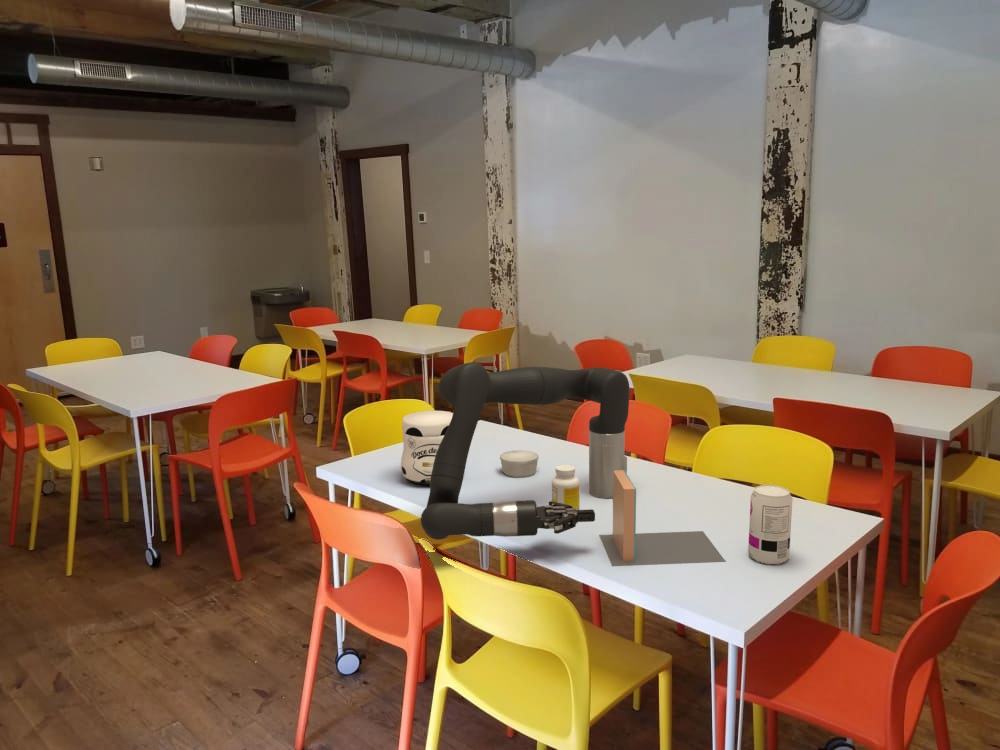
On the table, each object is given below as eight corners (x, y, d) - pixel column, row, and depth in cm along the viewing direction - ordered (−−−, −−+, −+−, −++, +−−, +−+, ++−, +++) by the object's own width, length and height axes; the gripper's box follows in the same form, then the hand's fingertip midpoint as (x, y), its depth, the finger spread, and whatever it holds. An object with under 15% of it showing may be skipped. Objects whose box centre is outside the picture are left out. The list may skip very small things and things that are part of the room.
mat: (612, 567, 159) (612, 566, 159) (599, 536, 175) (599, 534, 175) (725, 563, 160) (726, 561, 160) (702, 532, 176) (702, 531, 176)
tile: (623, 561, 161) (624, 489, 158) (612, 538, 173) (613, 470, 170) (635, 560, 161) (636, 488, 158) (623, 537, 173) (624, 470, 170)
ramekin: (522, 464, 228) (522, 447, 227) (547, 473, 219) (546, 455, 218) (492, 472, 221) (491, 454, 220) (516, 481, 213) (516, 463, 212)
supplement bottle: (583, 515, 187) (584, 465, 185) (572, 525, 182) (572, 473, 179) (559, 511, 191) (559, 461, 188) (547, 520, 185) (546, 469, 183)
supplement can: (741, 558, 163) (744, 491, 160) (759, 546, 168) (762, 481, 165) (777, 569, 157) (781, 500, 154) (795, 556, 163) (799, 489, 160)
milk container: (425, 493, 205) (423, 429, 201) (389, 478, 218) (386, 417, 214) (475, 478, 216) (473, 416, 212) (438, 464, 229) (436, 406, 225)
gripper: (516, 513, 158) (599, 510, 158) (512, 491, 170) (589, 488, 171) (516, 547, 159) (599, 544, 160) (513, 522, 172) (589, 519, 173)
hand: (594, 515), depth 165 cm, fingers closed
